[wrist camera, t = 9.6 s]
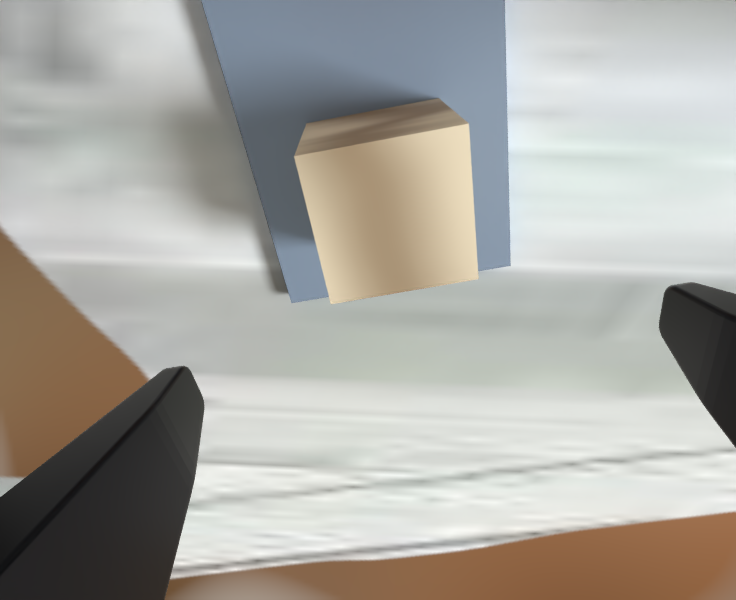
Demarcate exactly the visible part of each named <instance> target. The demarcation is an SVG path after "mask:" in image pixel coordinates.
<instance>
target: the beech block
mask: <svg viewBox="0 0 736 600" xmlns="http://www.w3.org/2000/svg"><path fill="white" fill-rule="evenodd" d="M294 158H295V162H296V166H297V170H298V174H299V178H300V182H301V186H302V190H303V194H304V198H305V202H306V206H307V210H308V214H309V218H310V222H311V226H312V230H313V234H314V238H315V242H316V246H317V251H318V255H319V259H320V263H321V267H322V271H323V275H324V279H325V283H326V287H327V291H328V295H329V299H330V303H331V304H335V303H341V302H347V301H353V300H358V299H364V298H370V297H376V296H382V295H388V294H394V293H400V292H405V291H411V290H417V289H423V288H429V287H435V286H441V285H447V284H453V283H458V282H464V281H470V280H476V279H478V262H477V246H476V230H475V214H474V197H473V181H472V165H471V149H470V132H469V123H468V122H467V121H465V120H464V119H463V118H462V117H461V116H459V115H458V114H457V113H456V112H455V111H454V110H452V109H451V108H450V107H449V106H448V105H446V104H445V103H444V102H443V101H442V100H441V99H439V98H437V99H431V100H426V101H421V102H416V103H411V104H405V105H400V106H395V107H390V108H384V109H379V110H374V111H369V112H363V113H358V114H353V115H348V116H342V117H337V118H332V119H327V120H321V121H316V122H311V123H306V126H305V129H304V131H303V134H302V136H301V139H300V142H299V144H298V147H297V150H296V152H295V155H294Z"/></svg>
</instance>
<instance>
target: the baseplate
mask: <svg viewBox="0 0 736 600" xmlns="http://www.w3.org/2000/svg"><path fill="white" fill-rule="evenodd" d="M201 1H202V4H203V8H204V11H205V14H206V18H207V21H208V24H209V28H210V31H211V34H212V38H213V41H214V44H215V48H216V51H217V55H218V58H219V61H220V65H221V68H222V71H223V75H224V78H225V81H226V85H227V88H228V91H229V95H230V98H231V101H232V105H233V108H234V112H235V115H236V118H237V122H238V125H239V128H240V132H241V135H242V138H243V142H244V145H245V148H246V152H247V155H248V158H249V162H250V165H251V169H252V172H253V175H254V179H255V182H256V185H257V189H258V192H259V195H260V199H261V202H262V205H263V209H264V212H265V216H266V219H267V222H268V226H269V229H270V232H271V236H272V239H273V242H274V246H275V249H276V252H277V256H278V259H279V262H280V266H281V269H282V273H283V276H284V279H285V283H286V286H287V289H288V293H289V296H290V299H291V303H295V302H301V301H307V300H313V299H319V298H324V297H329V295H328V291H327V287H326V283H325V279H324V275H323V271H322V267H321V263H320V259H319V255H318V251H317V246H316V242H315V238H314V234H313V230H312V226H311V222H310V218H309V214H308V210H307V206H306V202H305V198H304V194H303V190H302V186H301V182H300V178H299V174H298V170H297V166H296V162H295V158H294V155H295V152H296V150H297V147H298V144H299V142H300V139H301V136H302V134H303V131H304V129H305V126H306V123H311V122H316V121H321V120H327V119H332V118H337V117H342V116H348V115H353V114H358V113H363V112H369V111H374V110H379V109H384V108H390V107H395V106H400V105H405V104H411V103H416V102H421V101H426V100H431V99H437V98H439V99H441V100H442V101H443V102H444V103H445V104H446V105H448V106H449V107H450V108H451V109H452V110H454V111H455V112H456V113H457V114H458V115H459V116H461V117H462V118H463V119H464V120H465V121H467V122H468V123H469V132H470V149H471V165H472V181H473V197H474V214H475V230H476V246H477V262H478V271H482V270H488V269H494V268H500V267H506V266H511V264H510V219H509V174H508V129H507V84H506V39H505V0H201Z"/></svg>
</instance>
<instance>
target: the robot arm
mask: <svg viewBox="0 0 736 600" xmlns="http://www.w3.org/2000/svg"><path fill="white" fill-rule="evenodd" d="M659 329H660V333H661V336H662V338H663V339H664V341H665V343H666V344H667V346H668V348H669V349H670V351H671V353H672V354H673V356H674V358H675V359H676V361H677V363H678V364H679V366H680V368H681V369H682V371H683V373H684V374H685V376H686V378H687V379H688V381H689V383H690V384H691V386H692V388H693V389H694V391H695V393H696V394H697V396H698V397H699V399H700V400H701V402H702V403H703V405H704V406H705V408H706V409H707V410H708V412H709V413H710V415H711V416H712V417H713V419H714V420H715V421H716V422H717V424H718V425H719V426H720V428H721V429H722V430H723V432H724V433H725V434H726V436H727V437H728V438H729V440H730V441H731V442H732V444H733V445H734V446H735V447H736V294H734V293H731V292H727V291H723V290H720V289H716V288H712V287H709V286H705V285H701V284H698V283H694V282H688V283H683V284H677V285H671V286H669V287H668V288H667V289H666V290H665V293H664V297H663V303H662V309H661V314H660V320H659ZM203 415H204V400H203V397H202V394H201V392H200V390H199V388H198V386H197V384H196V381H195V379H194V377H193V375H192V373H191V371H190V369H189V368H188V367H186V366H178V367H172V368H166V369H164V370H162V371H161V372H160V373H159V374H157V375H156V376H155V377H153V378H152V379H151V380H150V381H148V382H147V383H146V384H145V385H143V386H142V387H141V388H139V389H138V390H137V391H136V392H134V393H133V394H132V395H131V396H129V397H128V398H127V399H125V400H124V401H123V402H121V403H120V404H119V405H118V406H116V407H115V408H114V409H113V410H111V411H110V412H109V413H107V414H106V415H105V416H104V417H102V418H101V419H100V420H98V421H97V422H96V423H95V424H93V425H92V426H91V427H90V428H88V429H87V430H86V431H84V432H83V433H82V434H81V435H79V436H78V437H77V438H76V439H74V440H73V441H72V442H70V443H69V444H68V445H67V446H65V447H64V448H63V449H61V450H60V451H59V452H58V453H56V454H55V455H54V456H52V457H51V458H50V459H49V460H47V461H46V462H45V463H44V464H42V465H41V466H40V467H38V468H37V469H36V470H35V471H33V472H32V473H31V474H29V475H28V476H27V477H26V478H24V479H23V480H22V481H21V482H19V483H18V484H17V485H15V486H14V487H13V488H12V489H10V490H9V491H8V492H6V493H5V494H4V495H3V496H1V497H0V600H165V595H166V592H167V588H168V584H169V580H170V576H171V572H172V568H173V564H174V560H175V556H176V552H177V548H178V544H179V540H180V536H181V533H182V529H183V525H184V521H185V517H186V513H187V509H188V505H189V501H190V497H191V493H192V489H193V484H194V480H195V474H196V467H197V460H198V453H199V445H200V438H201V430H202V423H203Z"/></svg>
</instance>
